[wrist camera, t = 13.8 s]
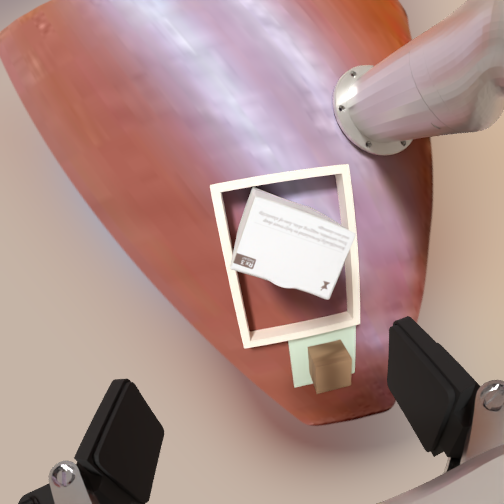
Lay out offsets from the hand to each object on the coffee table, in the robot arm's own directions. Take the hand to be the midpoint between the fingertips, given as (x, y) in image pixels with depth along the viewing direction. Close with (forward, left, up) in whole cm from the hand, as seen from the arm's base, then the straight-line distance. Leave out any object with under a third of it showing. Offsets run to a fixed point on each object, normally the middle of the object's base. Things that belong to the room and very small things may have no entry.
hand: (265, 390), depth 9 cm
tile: (-8, +20, -26) cm, 34 cm away
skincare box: (-4, -1, -27) cm, 27 cm away
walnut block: (-8, +20, -26) cm, 33 cm away
